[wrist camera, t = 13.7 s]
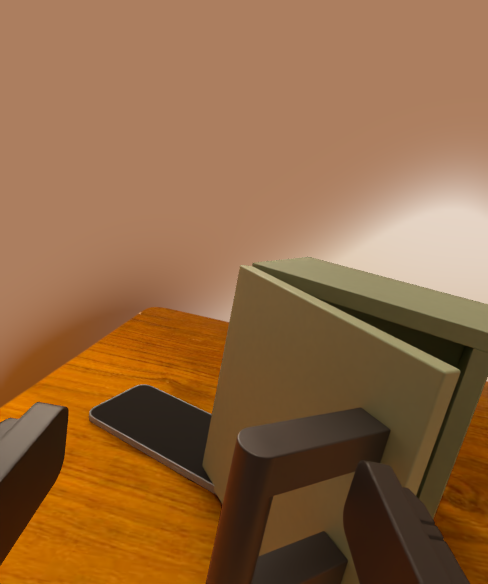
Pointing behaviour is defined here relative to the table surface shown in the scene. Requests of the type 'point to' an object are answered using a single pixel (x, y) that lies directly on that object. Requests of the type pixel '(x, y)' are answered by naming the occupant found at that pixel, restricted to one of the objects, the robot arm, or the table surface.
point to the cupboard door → (309, 430)
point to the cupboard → (409, 340)
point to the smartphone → (159, 429)
